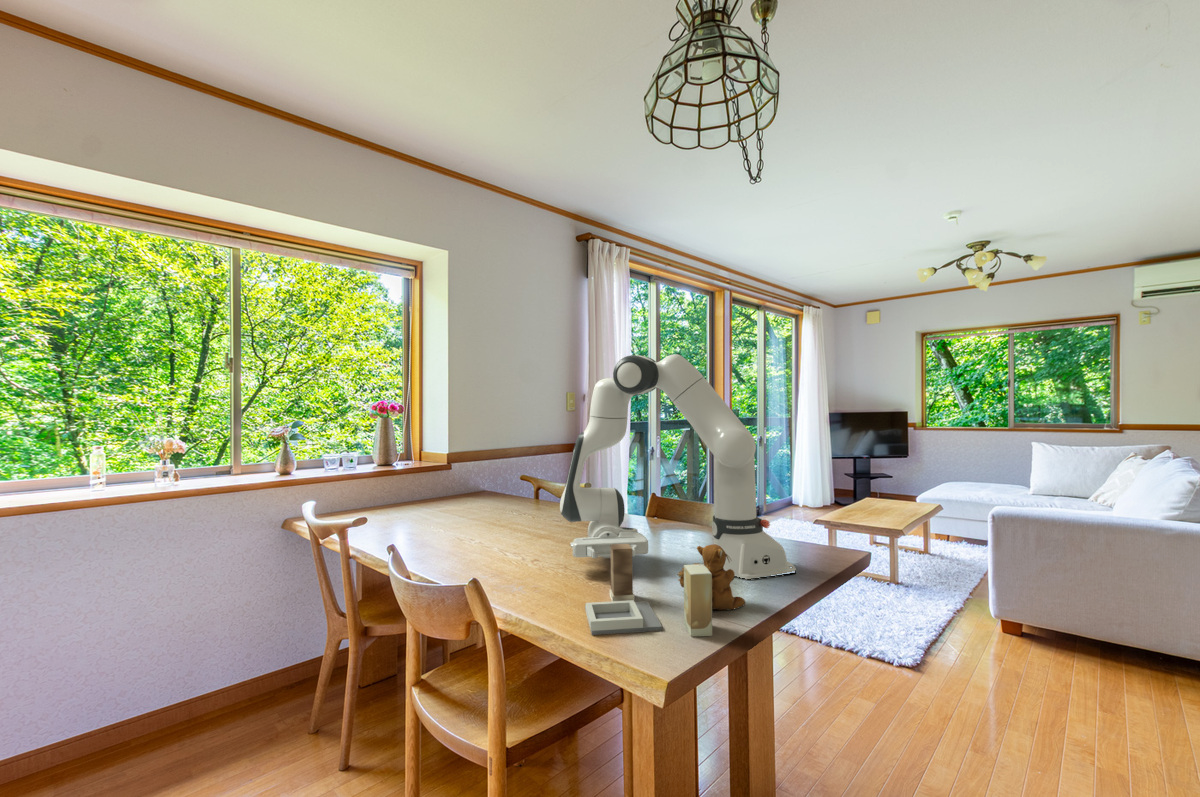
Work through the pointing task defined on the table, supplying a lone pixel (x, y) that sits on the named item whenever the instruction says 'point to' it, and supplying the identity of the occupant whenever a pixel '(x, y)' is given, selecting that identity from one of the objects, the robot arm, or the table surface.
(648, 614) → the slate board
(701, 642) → the table surface
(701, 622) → the skincare box
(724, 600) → the stuffed squirrel
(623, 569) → the walnut box
